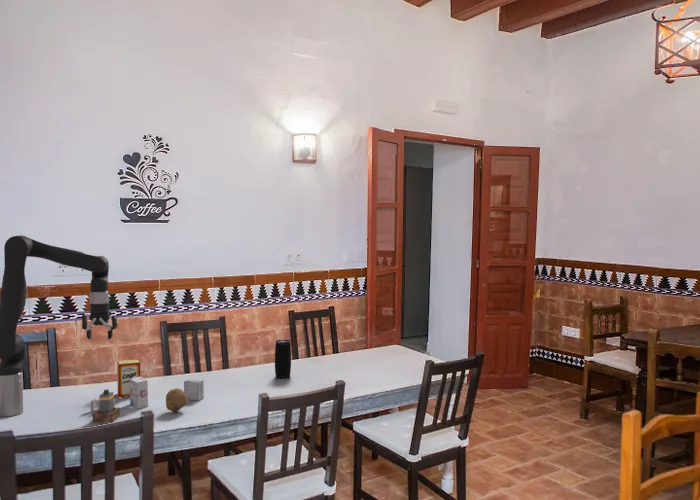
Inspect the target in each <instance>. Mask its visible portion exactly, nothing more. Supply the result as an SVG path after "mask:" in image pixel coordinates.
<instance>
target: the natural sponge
mask: <svg viewBox="0 0 700 500" xmlns="http://www.w3.org/2000/svg"><path fill="white" fill-rule="evenodd" d="M188 401H189V400H188V398H187V396H186V394H185V393H184V390H183V389H180V388H178V387H177V388H176V387H175V388H172V389H170V390H169V391H168V392H167V393H166V395H165V406H166V407H165V408H166V409H167V410H168V411H171V412H172V413H176V412H179V411H180V410H181V409H182V408H184V407H186V406H187V405H188Z"/></svg>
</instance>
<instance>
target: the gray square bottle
mask: <svg viewBox="0 0 700 500" xmlns="http://www.w3.org/2000/svg"><path fill="white" fill-rule="evenodd" d="M114 396H115V394H114V391H113V392H112V391H111V392H110V389H107V388H106V389H103V392H102V393H101V394H99V397H98V400H99V401H100V413H112V412H113V399H114Z"/></svg>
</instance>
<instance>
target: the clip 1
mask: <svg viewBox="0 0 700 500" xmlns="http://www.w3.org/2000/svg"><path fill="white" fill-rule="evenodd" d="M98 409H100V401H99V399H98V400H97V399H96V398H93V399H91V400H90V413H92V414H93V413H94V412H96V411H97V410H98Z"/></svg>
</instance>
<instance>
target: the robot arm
mask: <svg viewBox="0 0 700 500" xmlns="http://www.w3.org/2000/svg"><path fill="white" fill-rule="evenodd" d="M29 257H31V258H39V259H44V260H47V261H51V262H54V263H56V264H59V265H62V266H67V267H71V268H78V269H82V270H86V271H89V272H91V280H90V294H89V315H88V314H84V315H82V319H81V329H82V330H85V331H86V338H87V340H91V339H92V338H93V337H92V336H93V335H92V334H93V333H92V332H93V331H92V329H93V328H94V326H104V327H105V328H106V329H107V340H111V339H112V338H113V336H114V335H113V334H114V333H113V331H114V330H115V329H117V328H118V318H117V317H118V316H117V315H116V314H113V315H110V295H109V272H110V270H109V269H110V265H109V263H110V262H109V261H108V258H106V257H105V256H103V255H92V254H87V253H84V252H82V251H79V250H75V249H71V248H70V249H69V248H65V247H60V246H59V247H58V246H55V245H50V244H46V243H43V242H40V241H38V240H34V239H32V238H31V237H28V236H26V235H23V234H21V235H13V236H11V237H9V238H8V239H7V240H6V241H5V243H4V269H3V270H4V271H3V275H2V282H1V288H0V417H2V418H4V417H5V418H6V417H7V418H8V417H14V416H17V415H20V414H22V413H24V377H23V376H24V375H23V373H24V370H23V369H24V366H25V361H26V360H25V359H26V357H25V356H26V355H25V354H26V344H25V343H26V342H25V340H24V339H23V337H22V336H21V335H19V334H18V333H17V328H18V327H17V326H18V324H19V323H18V322H19V321H20V319H21V316H22V314H23V313H24V312H23V311H24V310H25V306H26V302H27V293H28V292H27V290H28V289H27V288H28V286H27V279H26V274H25V270H26V269H25V268H26V261H27V258H29ZM89 319H90V323H89V324H88V320H89ZM109 320H110V321H111V322H110V321H109Z"/></svg>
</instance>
